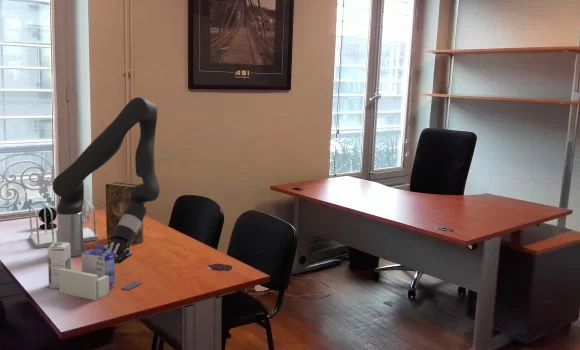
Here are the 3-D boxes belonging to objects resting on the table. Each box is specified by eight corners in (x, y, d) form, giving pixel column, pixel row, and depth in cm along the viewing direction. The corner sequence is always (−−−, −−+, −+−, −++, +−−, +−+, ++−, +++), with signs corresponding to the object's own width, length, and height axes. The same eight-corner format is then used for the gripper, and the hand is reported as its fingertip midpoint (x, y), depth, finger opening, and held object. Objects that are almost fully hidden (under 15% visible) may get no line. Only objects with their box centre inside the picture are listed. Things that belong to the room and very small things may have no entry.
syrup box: (54, 282, 192) (52, 242, 189) (72, 282, 192) (70, 242, 190) (48, 288, 186) (46, 246, 184) (66, 288, 187) (65, 246, 184)
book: (145, 241, 243) (144, 185, 239) (137, 244, 238) (136, 187, 234) (115, 236, 249) (113, 181, 245) (106, 239, 244) (105, 183, 240)
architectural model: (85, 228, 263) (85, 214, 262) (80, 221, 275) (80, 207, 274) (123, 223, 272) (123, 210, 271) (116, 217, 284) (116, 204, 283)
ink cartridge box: (116, 285, 190) (114, 245, 187) (105, 291, 185) (104, 249, 182) (92, 281, 193) (90, 241, 191) (81, 287, 188) (79, 246, 186)
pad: (121, 288, 188) (121, 288, 188) (134, 282, 194) (134, 281, 194) (128, 290, 186) (128, 289, 186) (141, 283, 193) (141, 282, 193)
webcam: (40, 230, 255) (39, 209, 253) (38, 226, 261) (37, 206, 260) (58, 228, 259) (57, 207, 257) (56, 225, 265) (55, 204, 263)
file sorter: (88, 231, 256) (86, 198, 254) (98, 240, 242) (97, 206, 240) (29, 238, 242) (27, 203, 240) (36, 249, 228) (34, 212, 226)
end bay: (59, 292, 183) (58, 269, 182) (74, 285, 189) (73, 263, 188) (95, 300, 177) (94, 276, 176) (109, 293, 183) (108, 270, 182)
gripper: (107, 222, 200) (84, 264, 191) (137, 226, 195) (114, 270, 186) (117, 232, 206) (95, 274, 197) (146, 237, 201) (125, 280, 192)
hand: (104, 272), depth 192 cm, fingers closed
